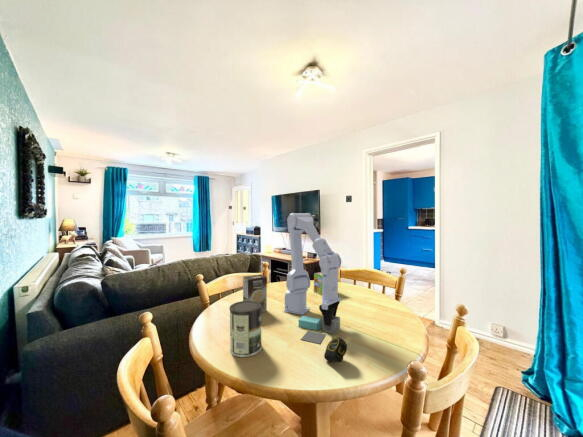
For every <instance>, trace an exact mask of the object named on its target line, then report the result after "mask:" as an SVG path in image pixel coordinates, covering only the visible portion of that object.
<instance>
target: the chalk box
mask: <svg viewBox="0 0 583 437" xmlns="http://www.w3.org/2000/svg"><path fill="white" fill-rule="evenodd" d="M313 293H315V294H317V295H320V296H321V297H322V273H321V271H320V272H314V273H313Z"/></svg>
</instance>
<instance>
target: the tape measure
mask: <svg viewBox="0 0 583 437" xmlns="http://www.w3.org/2000/svg"><path fill="white" fill-rule="evenodd" d="M347 350H348V344H347V343H346V341H345V340H344V339H343V338H342V337H339V336H334V337H333V338H331V340H330V341H329V342H328V343H327V345H326V348H325V351H324V355H323V356H324V357H323V358H324V359H325V361H328V362H337V363H342V362H343V361H344V356H345V355H346V353H347Z"/></svg>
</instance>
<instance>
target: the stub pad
mask: <svg viewBox="0 0 583 437" xmlns="http://www.w3.org/2000/svg"><path fill="white" fill-rule="evenodd" d="M326 336H327V333H322V332H321V333H320V332H318V331H317V332H316V331H313V330H307V331H306V332H305V334H304V335H303V336H302V337H301V338H300V340H301V341H304V342H308V343H312V344H317V345H321V343H322V342H323V340H324V339H325V338H326Z"/></svg>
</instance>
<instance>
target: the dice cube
mask: <svg viewBox="0 0 583 437" xmlns="http://www.w3.org/2000/svg"><path fill="white" fill-rule="evenodd" d="M321 319H322V326H321V332H323V333H325V334H330V335H333V336H334V335H336V334H337V333H338V332H339V331H340V330H341V317H340V316H337V315H336V316H333V315H332V322H331V326H326V325H325V324H324V320H323V317H322V318H321Z"/></svg>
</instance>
